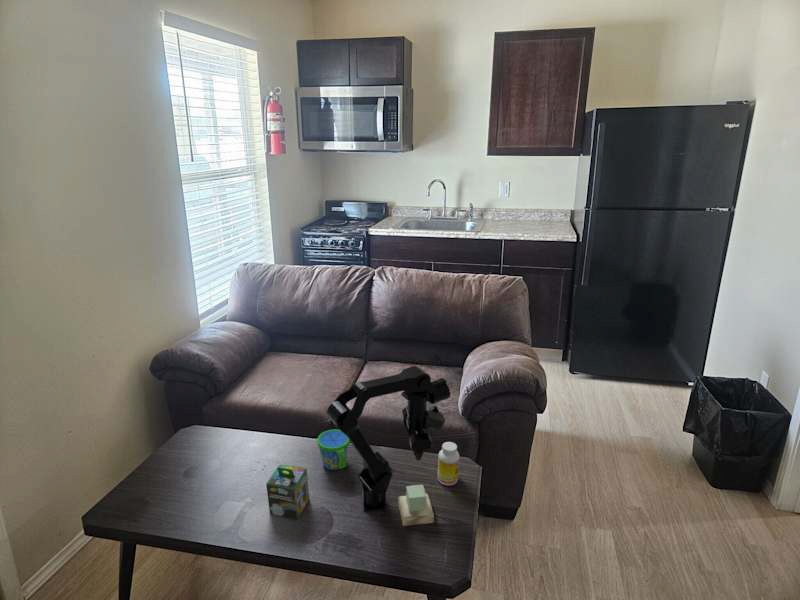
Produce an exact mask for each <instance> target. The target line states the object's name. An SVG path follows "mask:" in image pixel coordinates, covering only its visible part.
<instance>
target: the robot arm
mask: <svg viewBox="0 0 800 600" xmlns="http://www.w3.org/2000/svg"><path fill="white" fill-rule="evenodd" d="M431 380H432V377H431V376H430V375H429V373H427V372H426V371H424V370H423V369H422V368H420V367H419V366H418V365H412V366H410V367H407V368H405V369H402V371H400V373H397V374H394V375H390V376H385V377H380V378H375V379H370V380H366V381H357V382H355V383H354V384H353V385H352V386H351V387H350V388H349V389H347V390H345V391H343V392H342V393H340V394H339V395H338V396H337V397H336V398H335V400H333V402H332V403H331V404H330V405H329V406H328V408H327V411H326V416H327V417H328V418H329V419H330V421H331V422H332V423H333V424H334V425H335V426H336V427H337V429H338V430H341V431H342V432H343V433H344V434H345V435H346V436H347V437H348V439H349V440H350V443H351V444H352V446H353V447H354V450H355V451H356V453H358V455H359V457H360V458H361V460H362V465H363V469H362V470H361V471H360V473H359V474H358V475H357V478H358V480H359V482H361V487H362V489H361V491H362V493H361V494H362V495H361V501H362V511H364V512H366V511H367V512H368V511H377V510H385V509H386V505H385V503H386V502H387V494H386V493H387V491H388V488H389V486H390V483H391V480H392V477H393V470H394V468H393V467H392V466H391V465H390V463H389V461H388V460H387V459H386V458H385V457H384V456H383V455H382V453H381V452H380V451H378V450H377V451H376V452H375V451H374V450H373V449H372V447H371V446H370V444H369V442H368V441H367V439H366V438H365V436H364V435H363V433H362V432H361V430H360V428H359V420H358V419H359V418H360V417H361V416H362V414H363V411H364V408H365V407H366V403H367V402H368V401H369V400H370V399H373V398H378V397H382V396H387V395H390V394H396V393H400V392H402V393H401V394H400V395H401V396H402V397H403V398H404V399H405V400H407V406H406V407H404V408H403V409H402V410H401V417H402V421H403V425H404V427H405V430H406V432H407V435H408V437H409V446H410V449H411V451H412V454H413V455H414V457H415V460H416V461H418V462H419V461H421V460H422V458H423V456H424V453H425V450H432V449H433V439H432V437H431V435H430V434H429V433H428V432H425V431H426V430H429V429H430V428H431V429H432V428H433V429H436V430H439V431H441V430H442V429H443V427H444V426H445V423H446V419H445V417H444V415H443V414H442V412H441V411H439V408H438V406H437V405H435V404H436V403H439V402H443V401H446V400H449V399H450V398H451V392H450V387H449V385H448V384H447V380H446V379H445V378H443V377H440V378H438V379H437V380H433V381H431ZM354 399H355V400H354ZM352 400H354V403H353V405H352V408H350V407H349V406H348V405H347V404H348V403H349V402H350V401H352ZM427 403H429V404H431V405H432V406H431V407H429V409H428V410H427V407H428V406H427ZM433 404H434V405H433Z"/></svg>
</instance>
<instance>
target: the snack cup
mask: <svg viewBox="0 0 800 600" xmlns="http://www.w3.org/2000/svg"><path fill="white" fill-rule="evenodd" d="M316 443H317V446H318V448H319V452H320V456H321V462H322V464H323V467H324V468H326V470H333V471H334V470H335V471H336V470H342V469H344V468H345V467H347V455H348V450H349V449H348V447H349V445H350V443H351V442H350V440H349V439H348V437H347V436H346V435H345V434H344V433H343V432H342V431H341V430H340V429H338V428H337V429H336V428H335V429H329V430H326V431H323V432H321V433H320V434H319V435H318V437H317V439H316Z"/></svg>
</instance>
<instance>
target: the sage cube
mask: <svg viewBox="0 0 800 600" xmlns="http://www.w3.org/2000/svg"><path fill="white" fill-rule="evenodd" d="M405 490H406V491H405V493H406V494H405V496H406V502H407V506H408V510H409V512H413V511H423V510H426V494H427V493H426V490H425V486H424V484H415V485H406V489H405Z"/></svg>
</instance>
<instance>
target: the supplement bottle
mask: <svg viewBox="0 0 800 600" xmlns="http://www.w3.org/2000/svg"><path fill="white" fill-rule="evenodd" d="M437 466H438V467H437V480H438V481H439V483H440V484H442V485H444V486H454V485H455V484H456V483H458V481H459V471H460V469H459V468H460V452H458V445H457V444H456V443H455V442H452V441H446V442H444V443H442V445H441V450H439V452H438V462H437Z"/></svg>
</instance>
